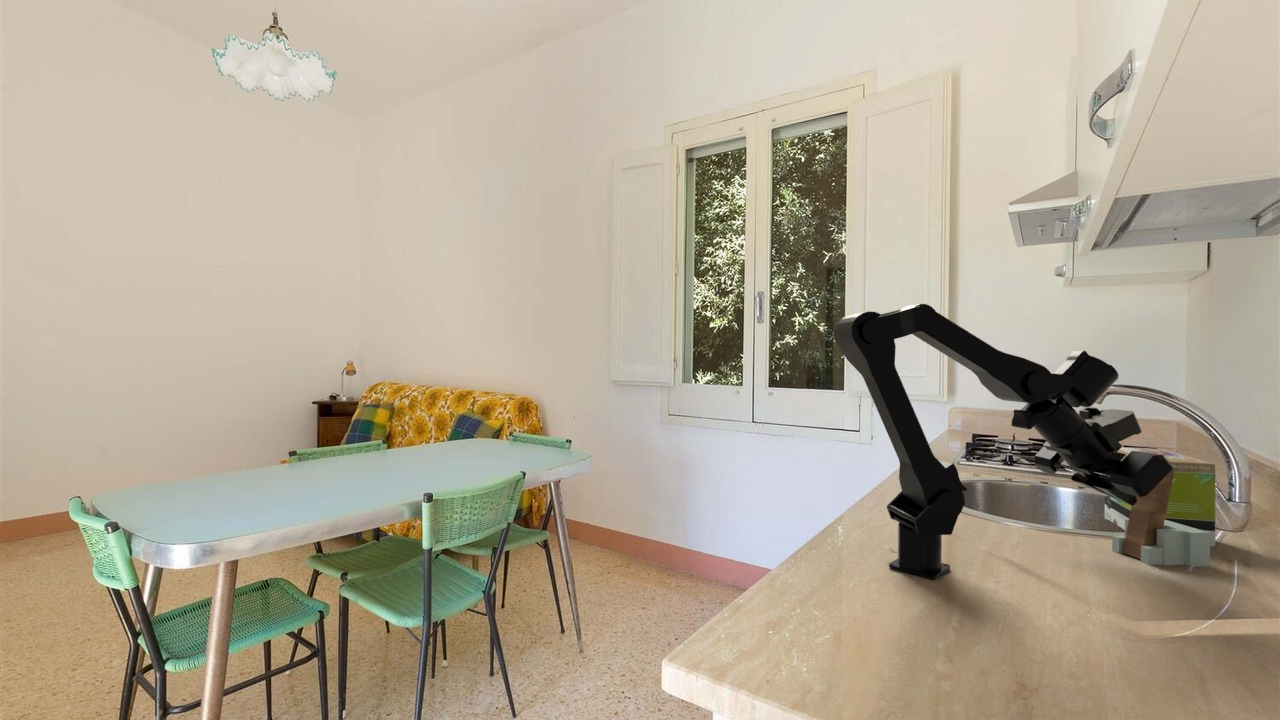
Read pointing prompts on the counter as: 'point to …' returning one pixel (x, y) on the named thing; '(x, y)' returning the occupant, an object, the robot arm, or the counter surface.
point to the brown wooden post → (1147, 517)
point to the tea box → (1179, 493)
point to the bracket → (1173, 546)
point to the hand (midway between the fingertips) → (1132, 503)
